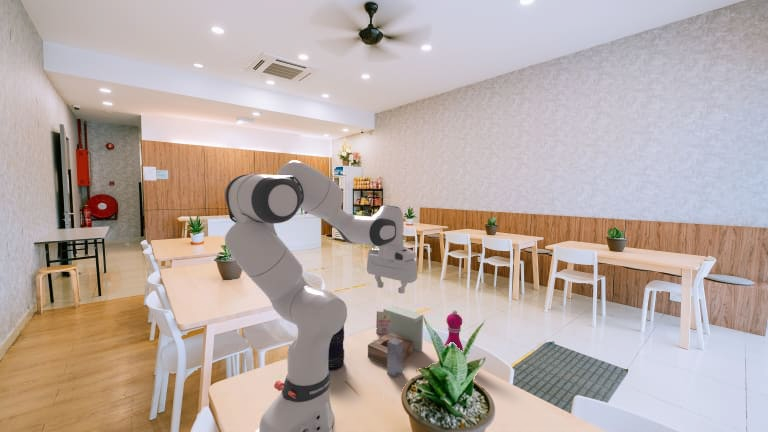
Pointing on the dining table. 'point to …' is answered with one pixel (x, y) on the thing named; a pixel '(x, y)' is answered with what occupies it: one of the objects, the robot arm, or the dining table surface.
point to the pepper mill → (454, 329)
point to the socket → (379, 348)
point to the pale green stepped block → (406, 325)
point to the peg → (395, 357)
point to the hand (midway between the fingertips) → (390, 290)
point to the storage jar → (336, 351)
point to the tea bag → (383, 323)
